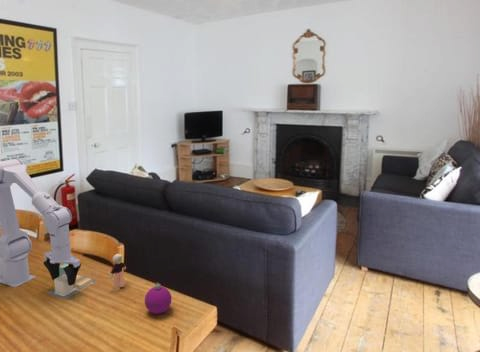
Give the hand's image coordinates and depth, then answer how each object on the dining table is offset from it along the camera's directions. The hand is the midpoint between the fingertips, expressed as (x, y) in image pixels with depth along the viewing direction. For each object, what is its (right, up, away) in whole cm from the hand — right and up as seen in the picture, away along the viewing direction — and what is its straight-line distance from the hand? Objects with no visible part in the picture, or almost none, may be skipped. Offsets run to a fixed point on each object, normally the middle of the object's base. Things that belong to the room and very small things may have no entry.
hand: (63, 281), depth 124 cm
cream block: (0, -4, +1) cm, 4 cm away
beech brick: (+2, -2, +6) cm, 7 cm away
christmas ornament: (+34, -7, -9) cm, 36 cm away
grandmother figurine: (+18, -4, +5) cm, 18 cm away
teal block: (-3, -2, +10) cm, 11 cm away
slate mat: (+1, -3, +4) cm, 5 cm away
